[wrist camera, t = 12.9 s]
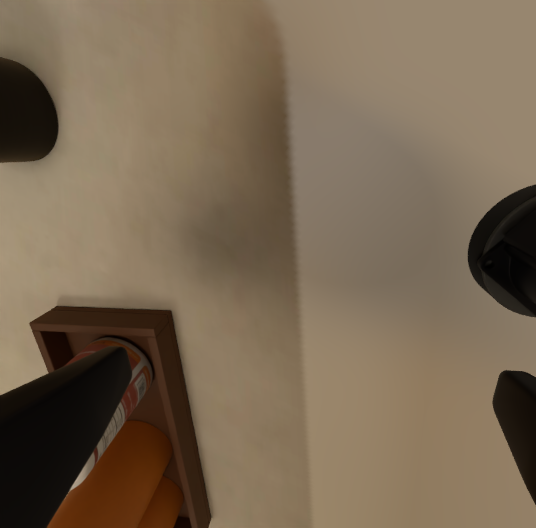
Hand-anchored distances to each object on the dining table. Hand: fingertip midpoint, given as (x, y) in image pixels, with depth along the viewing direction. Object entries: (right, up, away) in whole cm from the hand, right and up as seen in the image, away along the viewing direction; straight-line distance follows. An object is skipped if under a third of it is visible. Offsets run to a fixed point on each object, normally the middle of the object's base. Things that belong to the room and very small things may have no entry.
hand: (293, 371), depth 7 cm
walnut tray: (-13, -13, +21) cm, 28 cm away
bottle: (-13, -15, +21) cm, 29 cm away
